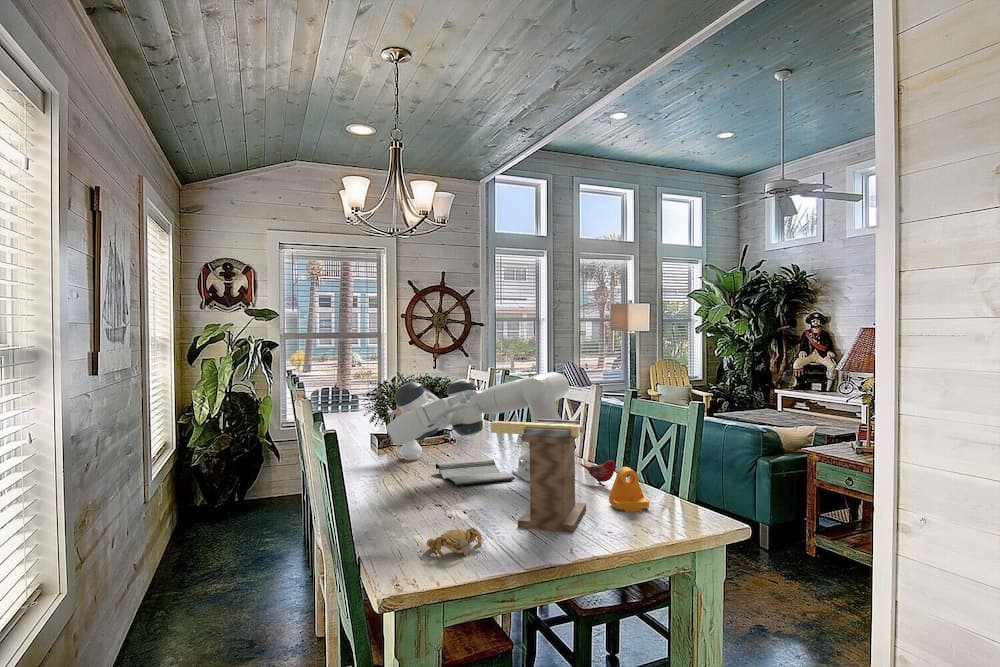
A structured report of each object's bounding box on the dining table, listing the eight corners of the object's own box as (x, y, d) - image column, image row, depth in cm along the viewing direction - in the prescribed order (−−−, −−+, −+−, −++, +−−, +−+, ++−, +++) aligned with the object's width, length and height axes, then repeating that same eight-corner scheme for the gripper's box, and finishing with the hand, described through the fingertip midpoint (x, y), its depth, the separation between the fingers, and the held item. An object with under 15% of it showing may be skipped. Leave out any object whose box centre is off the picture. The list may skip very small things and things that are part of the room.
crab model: (454, 537, 168) (454, 517, 168) (490, 546, 160) (490, 526, 160) (413, 554, 156) (413, 532, 156) (450, 565, 148) (450, 543, 148)
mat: (455, 490, 214) (455, 476, 214) (435, 474, 236) (435, 462, 236) (515, 482, 224) (515, 469, 224) (490, 468, 245) (490, 456, 245)
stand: (517, 527, 175) (517, 429, 174) (536, 505, 195) (535, 417, 194) (573, 532, 170) (572, 432, 169) (586, 509, 190) (585, 419, 189)
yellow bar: (490, 432, 180) (490, 422, 180) (493, 430, 183) (493, 420, 183) (578, 437, 172) (578, 426, 172) (580, 435, 175) (580, 424, 175)
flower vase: (386, 457, 264) (385, 399, 264) (429, 454, 269) (428, 397, 268) (388, 464, 252) (388, 403, 251) (433, 461, 256) (432, 401, 256)
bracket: (616, 512, 188) (616, 473, 187) (609, 505, 195) (608, 467, 194) (650, 510, 189) (650, 471, 189) (641, 503, 196) (641, 466, 196)
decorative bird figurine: (614, 490, 210) (614, 462, 210) (576, 480, 224) (576, 453, 223) (619, 489, 212) (619, 460, 212) (582, 479, 226) (581, 452, 225)
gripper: (449, 418, 197) (485, 399, 193) (423, 427, 177) (462, 406, 174) (441, 401, 198) (477, 381, 194) (414, 408, 178) (453, 386, 175)
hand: (470, 393), depth 184 cm, fingers open, 8 cm apart
